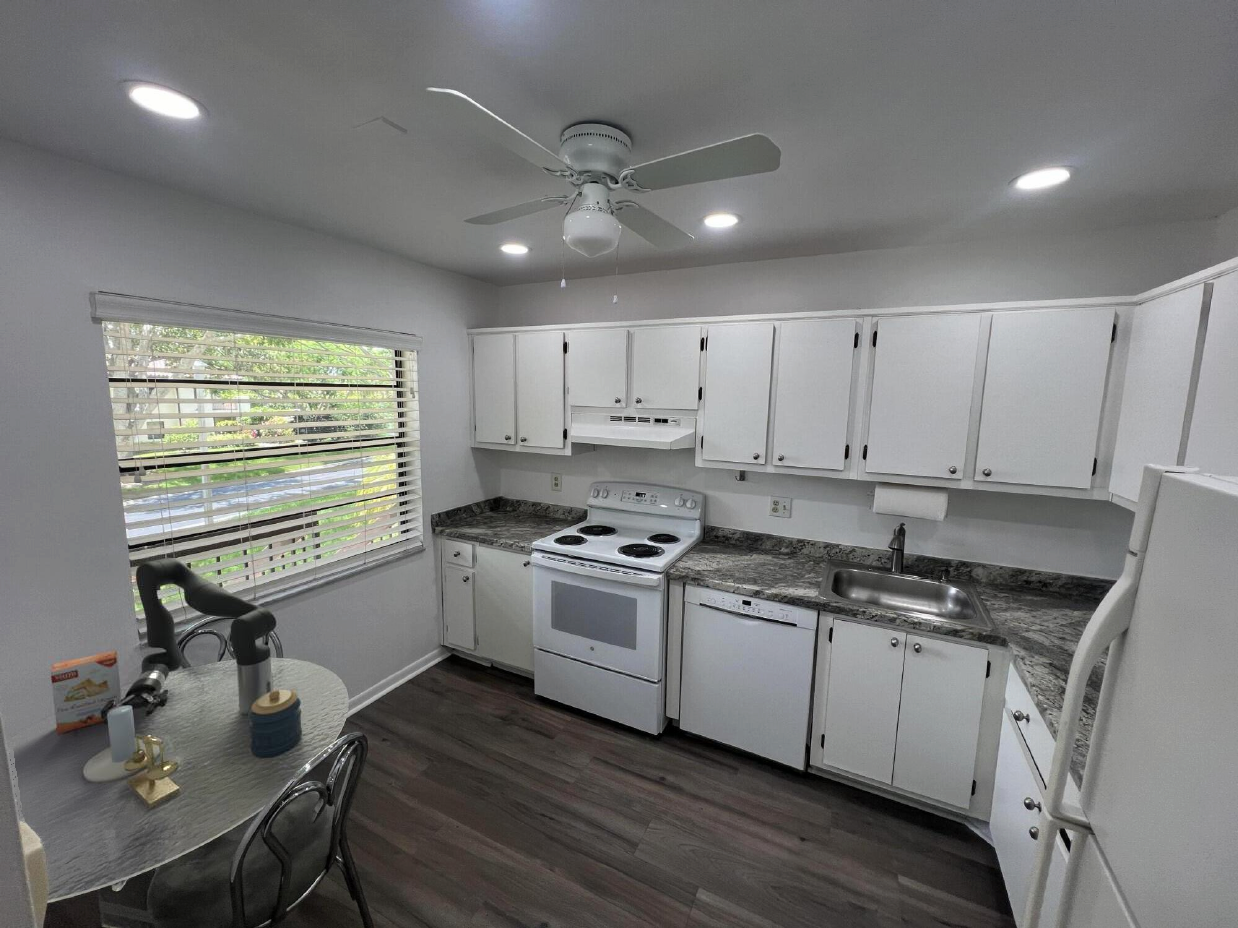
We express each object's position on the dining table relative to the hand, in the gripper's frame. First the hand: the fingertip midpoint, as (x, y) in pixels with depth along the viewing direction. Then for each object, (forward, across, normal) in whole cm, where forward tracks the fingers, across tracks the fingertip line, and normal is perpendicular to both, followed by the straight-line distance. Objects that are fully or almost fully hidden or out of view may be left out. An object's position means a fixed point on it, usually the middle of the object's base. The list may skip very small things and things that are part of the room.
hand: (127, 717), depth 143 cm
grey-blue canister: (+4, 0, +9) cm, 10 cm away
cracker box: (-22, -15, +11) cm, 28 cm away
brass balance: (+21, +10, +10) cm, 25 cm away
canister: (+15, +37, +11) cm, 41 cm away
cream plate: (+4, 0, +10) cm, 11 cm away
